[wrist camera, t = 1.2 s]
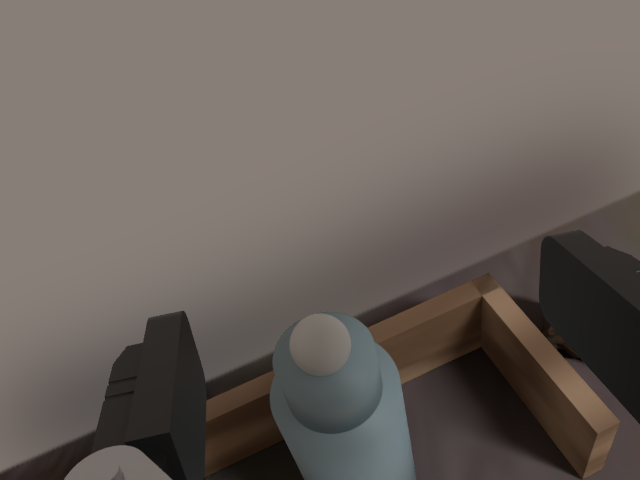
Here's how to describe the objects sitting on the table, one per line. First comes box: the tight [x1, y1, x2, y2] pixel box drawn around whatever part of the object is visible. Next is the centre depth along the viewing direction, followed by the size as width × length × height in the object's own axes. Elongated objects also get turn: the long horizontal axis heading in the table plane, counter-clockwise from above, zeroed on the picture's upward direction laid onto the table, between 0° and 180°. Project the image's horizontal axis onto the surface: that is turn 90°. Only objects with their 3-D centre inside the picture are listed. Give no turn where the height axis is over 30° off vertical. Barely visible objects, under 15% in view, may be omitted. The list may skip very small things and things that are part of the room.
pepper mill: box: [270, 312, 417, 480], centre depth 25 cm, size 5×5×15 cm
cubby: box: [205, 273, 620, 479], centre depth 29 cm, size 10×22×5 cm, turn 112°
